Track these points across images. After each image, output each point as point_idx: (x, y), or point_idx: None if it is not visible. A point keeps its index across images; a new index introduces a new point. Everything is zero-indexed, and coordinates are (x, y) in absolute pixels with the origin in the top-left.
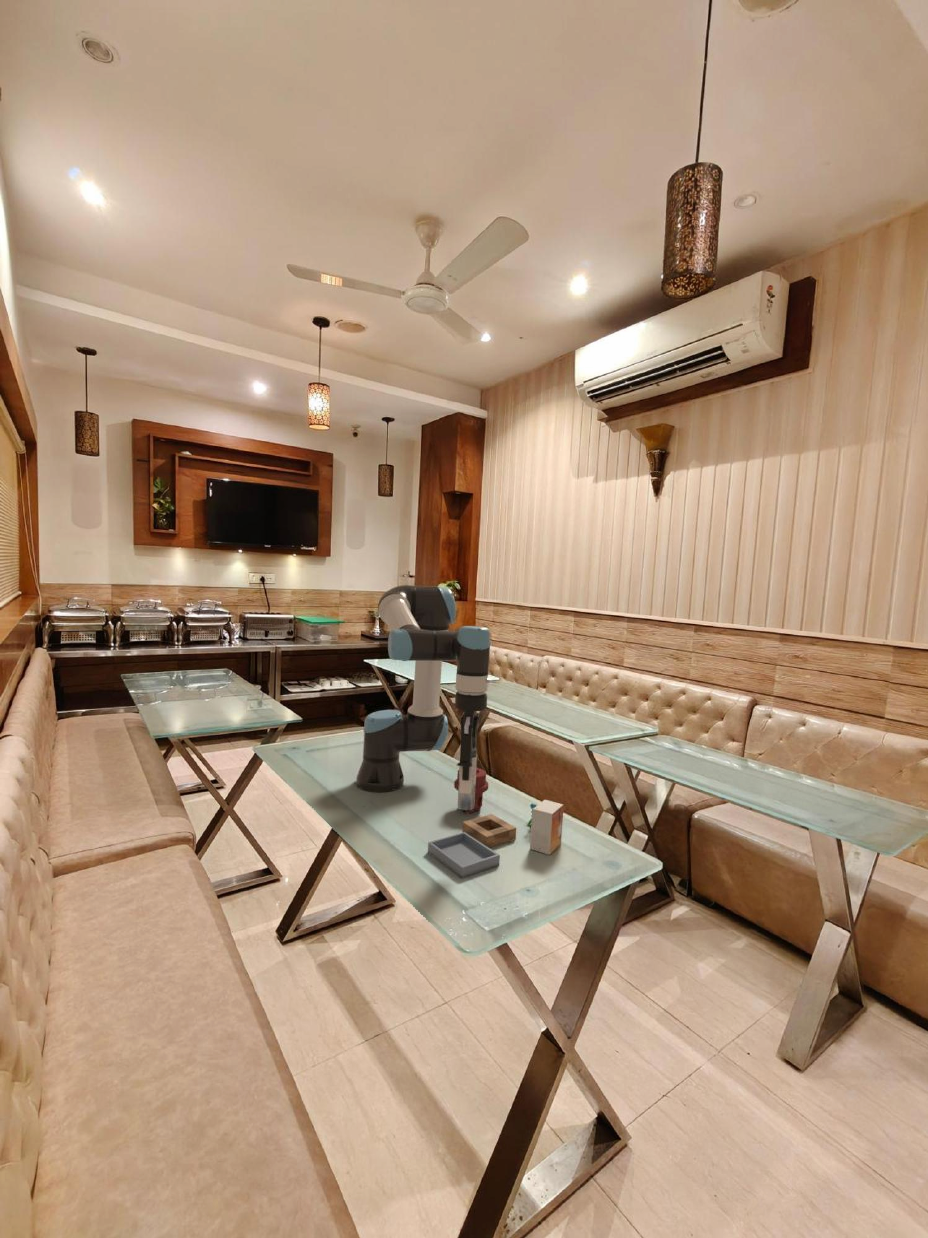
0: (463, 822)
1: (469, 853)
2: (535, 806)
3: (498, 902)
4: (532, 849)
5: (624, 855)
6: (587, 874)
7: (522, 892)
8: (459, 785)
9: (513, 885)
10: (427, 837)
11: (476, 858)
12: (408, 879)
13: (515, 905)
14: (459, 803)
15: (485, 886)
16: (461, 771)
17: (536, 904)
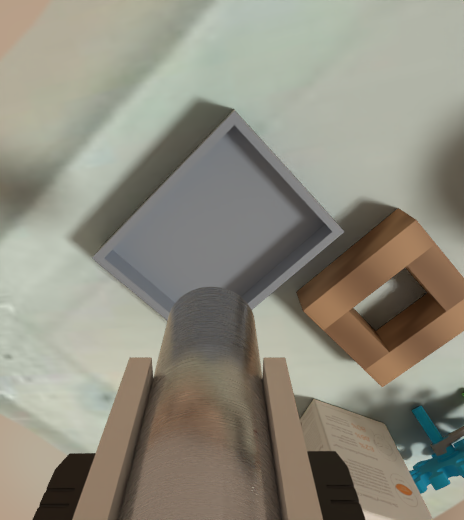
0: (412, 222)
1: (239, 253)
2: (460, 472)
3: (26, 342)
4: (310, 404)
5: None
6: None
7: (92, 387)
8: (172, 372)
9: (115, 368)
10: (351, 83)
11: (214, 276)
12: (35, 78)
13: (30, 376)
14: (176, 312)
15: (86, 308)
16: (82, 502)
17: (54, 413)
